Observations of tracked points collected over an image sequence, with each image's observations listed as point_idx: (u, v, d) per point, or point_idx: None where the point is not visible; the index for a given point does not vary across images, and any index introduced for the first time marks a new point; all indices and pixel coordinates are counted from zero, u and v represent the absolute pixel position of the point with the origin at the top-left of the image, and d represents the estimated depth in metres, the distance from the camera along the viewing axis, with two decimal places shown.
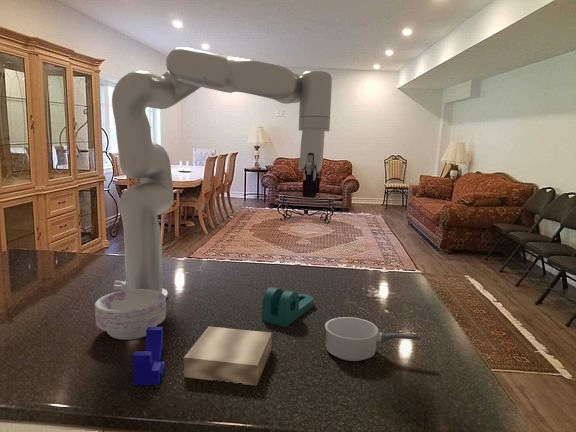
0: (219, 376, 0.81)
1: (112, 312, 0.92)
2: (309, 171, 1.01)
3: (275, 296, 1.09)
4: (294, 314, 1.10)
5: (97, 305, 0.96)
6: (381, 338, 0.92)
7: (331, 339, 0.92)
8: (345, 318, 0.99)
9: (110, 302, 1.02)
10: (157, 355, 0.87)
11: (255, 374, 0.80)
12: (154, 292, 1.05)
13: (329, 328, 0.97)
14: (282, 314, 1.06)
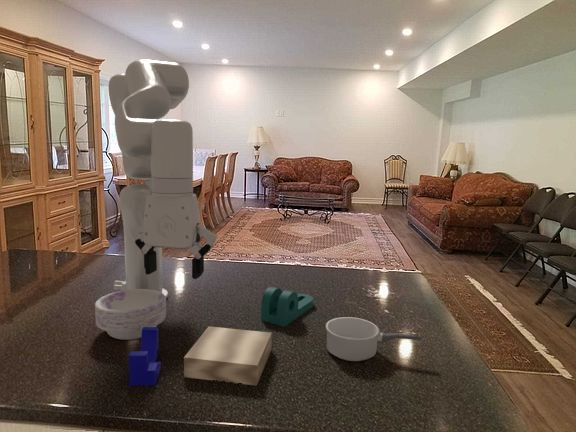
0: (219, 376, 0.81)
1: (112, 312, 0.92)
2: (212, 245, 0.83)
3: (274, 296, 1.09)
4: (293, 314, 1.10)
5: (97, 305, 0.96)
6: (382, 338, 0.92)
7: (331, 339, 0.92)
8: (345, 318, 0.99)
9: (110, 302, 1.02)
10: (153, 355, 0.87)
11: (255, 374, 0.80)
12: (154, 292, 1.05)
13: (330, 328, 0.97)
14: (280, 314, 1.06)
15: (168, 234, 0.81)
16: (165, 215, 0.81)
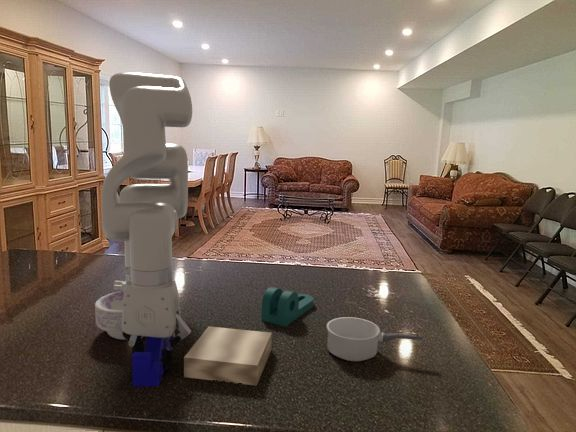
0: (219, 376, 0.81)
1: (112, 312, 0.92)
2: None
3: (275, 296, 1.09)
4: (293, 314, 1.10)
5: (97, 305, 0.96)
6: (383, 338, 0.92)
7: (332, 339, 0.92)
8: (346, 318, 0.99)
9: (110, 302, 1.02)
10: (157, 356, 0.87)
11: (255, 374, 0.80)
12: None
13: (331, 328, 0.97)
14: (281, 314, 1.06)
15: (147, 324, 0.81)
16: (144, 305, 0.80)
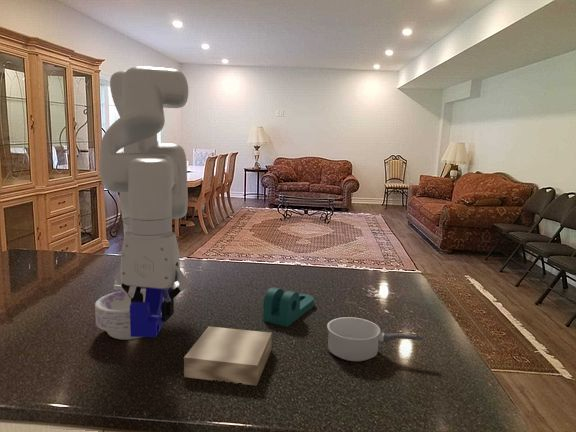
0: (219, 376, 0.81)
1: (112, 312, 0.92)
2: None
3: (276, 296, 1.09)
4: (295, 315, 1.10)
5: (97, 305, 0.96)
6: (383, 338, 0.92)
7: (333, 339, 0.92)
8: (347, 318, 0.99)
9: (110, 302, 1.02)
10: (156, 309, 0.86)
11: (255, 374, 0.80)
12: None
13: (331, 328, 0.97)
14: (283, 314, 1.06)
15: (146, 274, 0.80)
16: (143, 255, 0.79)
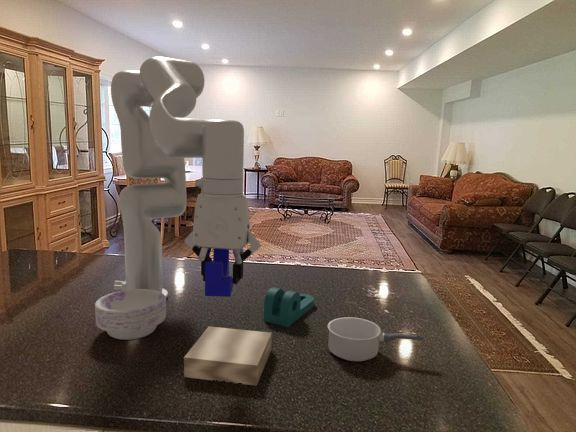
0: (219, 376, 0.81)
1: (112, 312, 0.92)
2: None
3: (277, 296, 1.09)
4: (296, 315, 1.10)
5: (97, 305, 0.96)
6: (384, 338, 0.92)
7: (333, 339, 0.92)
8: (347, 318, 0.99)
9: (110, 302, 1.02)
10: (225, 273, 0.86)
11: (255, 374, 0.80)
12: (154, 292, 1.05)
13: (331, 328, 0.97)
14: (284, 314, 1.06)
15: (219, 235, 0.81)
16: (216, 216, 0.80)
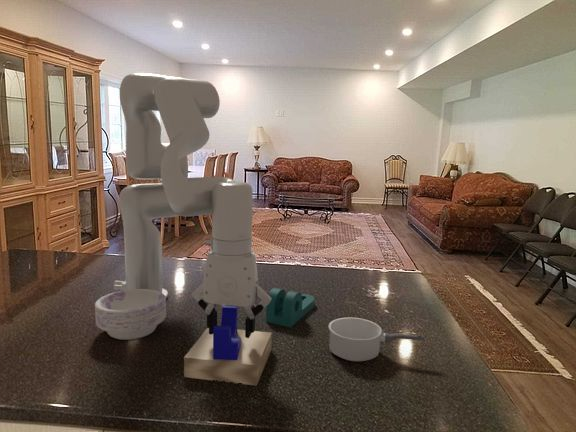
0: (219, 376, 0.81)
1: (112, 312, 0.92)
2: None
3: (279, 297, 1.09)
4: (298, 315, 1.10)
5: (97, 305, 0.96)
6: (385, 339, 0.92)
7: (334, 340, 0.91)
8: (348, 318, 0.99)
9: (110, 302, 1.02)
10: (233, 332, 0.89)
11: (255, 374, 0.80)
12: (154, 292, 1.05)
13: (332, 328, 0.97)
14: (286, 315, 1.06)
15: (229, 293, 0.83)
16: (226, 275, 0.82)
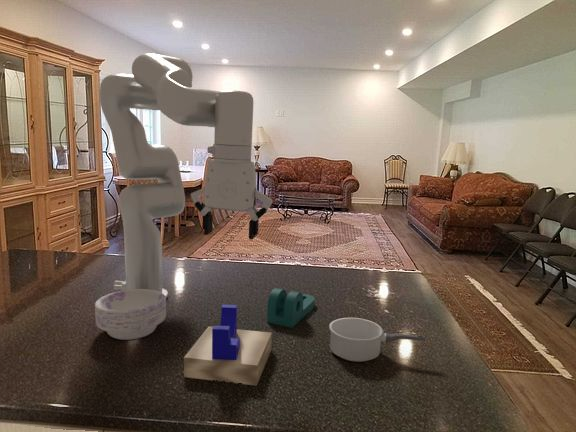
0: (219, 376, 0.81)
1: (112, 312, 0.92)
2: None
3: (280, 297, 1.09)
4: (299, 315, 1.09)
5: (97, 305, 0.96)
6: (385, 339, 0.92)
7: (335, 340, 0.91)
8: (349, 318, 0.99)
9: (110, 302, 1.02)
10: (232, 332, 0.89)
11: (255, 374, 0.80)
12: (154, 292, 1.05)
13: (333, 329, 0.97)
14: (288, 315, 1.06)
15: (229, 197, 0.88)
16: (226, 179, 0.87)
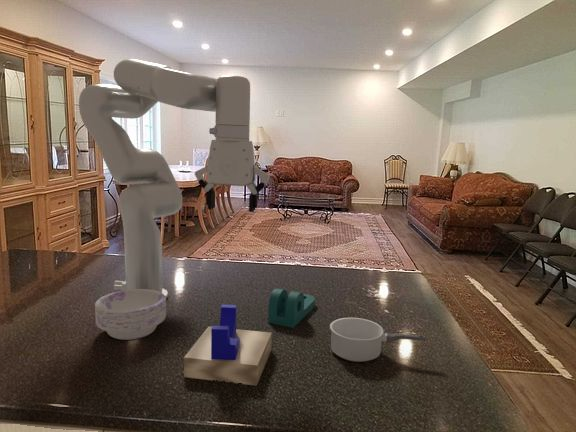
0: (219, 376, 0.81)
1: (112, 312, 0.92)
2: None
3: (281, 297, 1.09)
4: (300, 315, 1.09)
5: (97, 305, 0.96)
6: (386, 339, 0.92)
7: (336, 340, 0.91)
8: (349, 318, 0.99)
9: (110, 302, 1.02)
10: (231, 332, 0.89)
11: (255, 374, 0.80)
12: (154, 292, 1.05)
13: (334, 329, 0.97)
14: (289, 315, 1.06)
15: (230, 173, 0.96)
16: (227, 157, 0.96)
